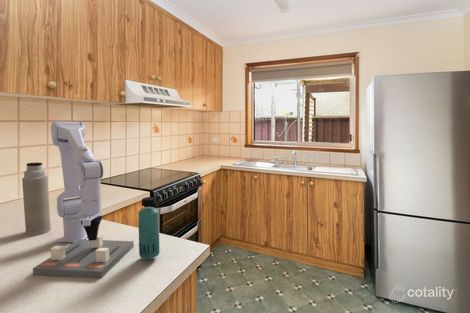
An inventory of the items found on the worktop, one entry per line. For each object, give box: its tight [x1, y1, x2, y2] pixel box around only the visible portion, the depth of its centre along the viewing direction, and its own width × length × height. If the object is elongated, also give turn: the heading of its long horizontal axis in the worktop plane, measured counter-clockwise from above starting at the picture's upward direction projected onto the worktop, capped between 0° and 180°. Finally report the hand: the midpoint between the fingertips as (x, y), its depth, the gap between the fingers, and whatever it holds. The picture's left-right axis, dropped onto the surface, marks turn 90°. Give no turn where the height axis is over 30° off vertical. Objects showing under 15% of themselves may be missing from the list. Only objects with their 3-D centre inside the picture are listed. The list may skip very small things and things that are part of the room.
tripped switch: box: [91, 234, 104, 248], centre depth 87 cm, size 2×3×4 cm, turn 86°
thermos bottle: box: [21, 161, 52, 236], centre depth 104 cm, size 8×8×28 cm
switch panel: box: [32, 238, 135, 279], centre depth 83 cm, size 20×20×6 cm
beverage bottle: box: [137, 196, 160, 260], centre depth 83 cm, size 6×7×20 cm
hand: (92, 239), depth 85 cm, fingers closed
